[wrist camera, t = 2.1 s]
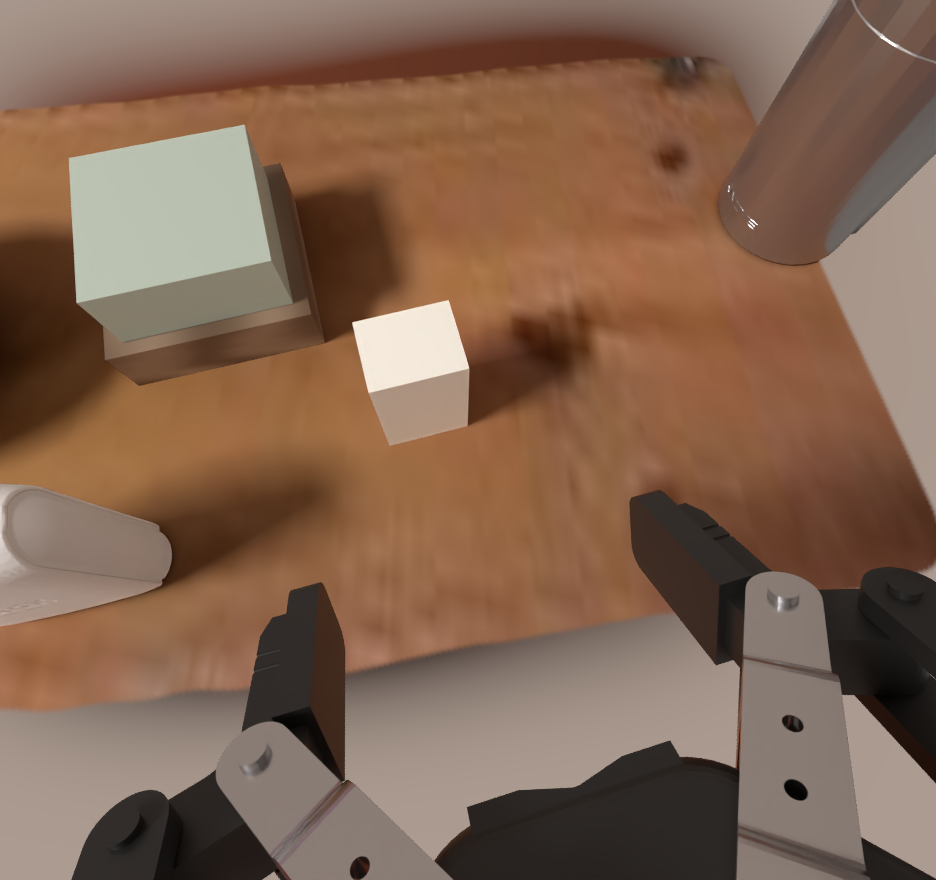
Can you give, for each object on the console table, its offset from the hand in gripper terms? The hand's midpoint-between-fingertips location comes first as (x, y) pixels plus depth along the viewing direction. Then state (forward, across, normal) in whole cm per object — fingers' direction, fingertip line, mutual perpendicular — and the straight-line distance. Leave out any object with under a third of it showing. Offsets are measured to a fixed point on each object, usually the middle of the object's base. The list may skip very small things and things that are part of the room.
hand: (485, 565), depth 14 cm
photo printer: (+18, +21, +8) cm, 28 cm away
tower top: (+27, +11, -7) cm, 30 cm away
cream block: (+21, 0, +4) cm, 21 cm away
